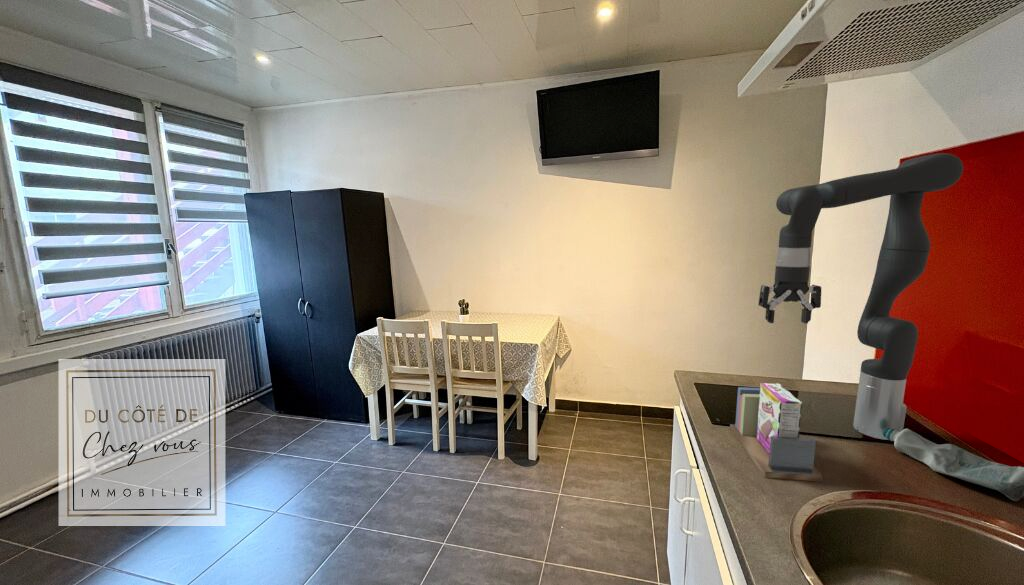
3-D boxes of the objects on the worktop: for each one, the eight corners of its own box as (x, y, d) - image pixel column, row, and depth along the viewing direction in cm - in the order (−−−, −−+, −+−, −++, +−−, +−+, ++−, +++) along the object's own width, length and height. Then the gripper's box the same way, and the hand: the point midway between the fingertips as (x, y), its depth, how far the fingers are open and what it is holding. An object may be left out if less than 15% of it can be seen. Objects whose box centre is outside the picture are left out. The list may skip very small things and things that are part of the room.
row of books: (773, 428, 110) (776, 388, 108) (782, 437, 105) (786, 396, 103) (735, 426, 112) (738, 387, 110) (742, 435, 107) (745, 394, 105)
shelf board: (774, 431, 111) (775, 426, 111) (821, 481, 90) (822, 475, 89) (729, 428, 113) (730, 424, 113) (765, 477, 92) (765, 471, 92)
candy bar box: (754, 438, 105) (759, 382, 102) (774, 439, 104) (780, 382, 101) (774, 463, 94) (780, 401, 91) (797, 465, 93) (804, 402, 91)
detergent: (1047, 496, 83) (899, 436, 106) (1054, 467, 81) (903, 412, 104) (1014, 517, 79) (868, 450, 102) (1021, 487, 77) (871, 426, 100)
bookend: (809, 469, 92) (813, 438, 90) (815, 475, 90) (818, 443, 88) (768, 466, 93) (770, 436, 92) (772, 472, 91) (775, 441, 90)
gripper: (814, 262, 106) (808, 319, 109) (757, 263, 108) (753, 319, 111) (831, 265, 99) (824, 326, 101) (770, 266, 101) (765, 326, 104)
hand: (787, 322), depth 106 cm, fingers open, 8 cm apart
